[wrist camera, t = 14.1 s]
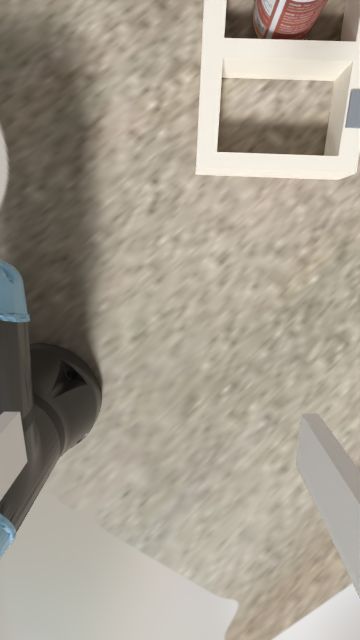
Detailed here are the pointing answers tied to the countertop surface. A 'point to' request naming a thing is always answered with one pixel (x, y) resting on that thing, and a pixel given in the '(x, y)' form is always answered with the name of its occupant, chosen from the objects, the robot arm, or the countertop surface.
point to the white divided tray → (281, 63)
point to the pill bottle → (285, 18)
